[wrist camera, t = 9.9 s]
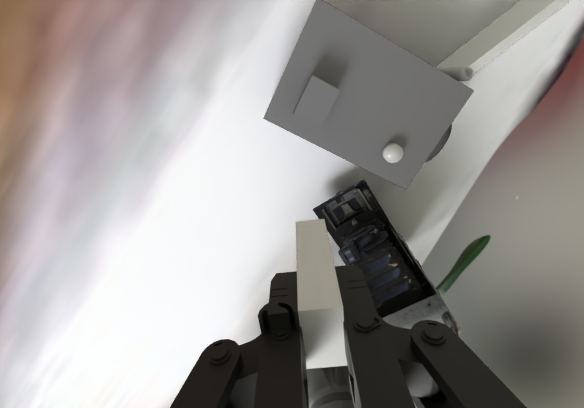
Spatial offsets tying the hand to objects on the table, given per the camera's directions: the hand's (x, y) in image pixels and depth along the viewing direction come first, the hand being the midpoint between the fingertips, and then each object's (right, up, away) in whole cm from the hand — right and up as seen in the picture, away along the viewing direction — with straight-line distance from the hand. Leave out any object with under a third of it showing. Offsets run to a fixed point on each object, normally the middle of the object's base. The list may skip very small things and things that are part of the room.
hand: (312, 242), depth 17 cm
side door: (+22, +22, +21) cm, 37 cm away
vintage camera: (+9, -1, +32) cm, 34 cm away
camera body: (+7, +16, +24) cm, 30 cm away
